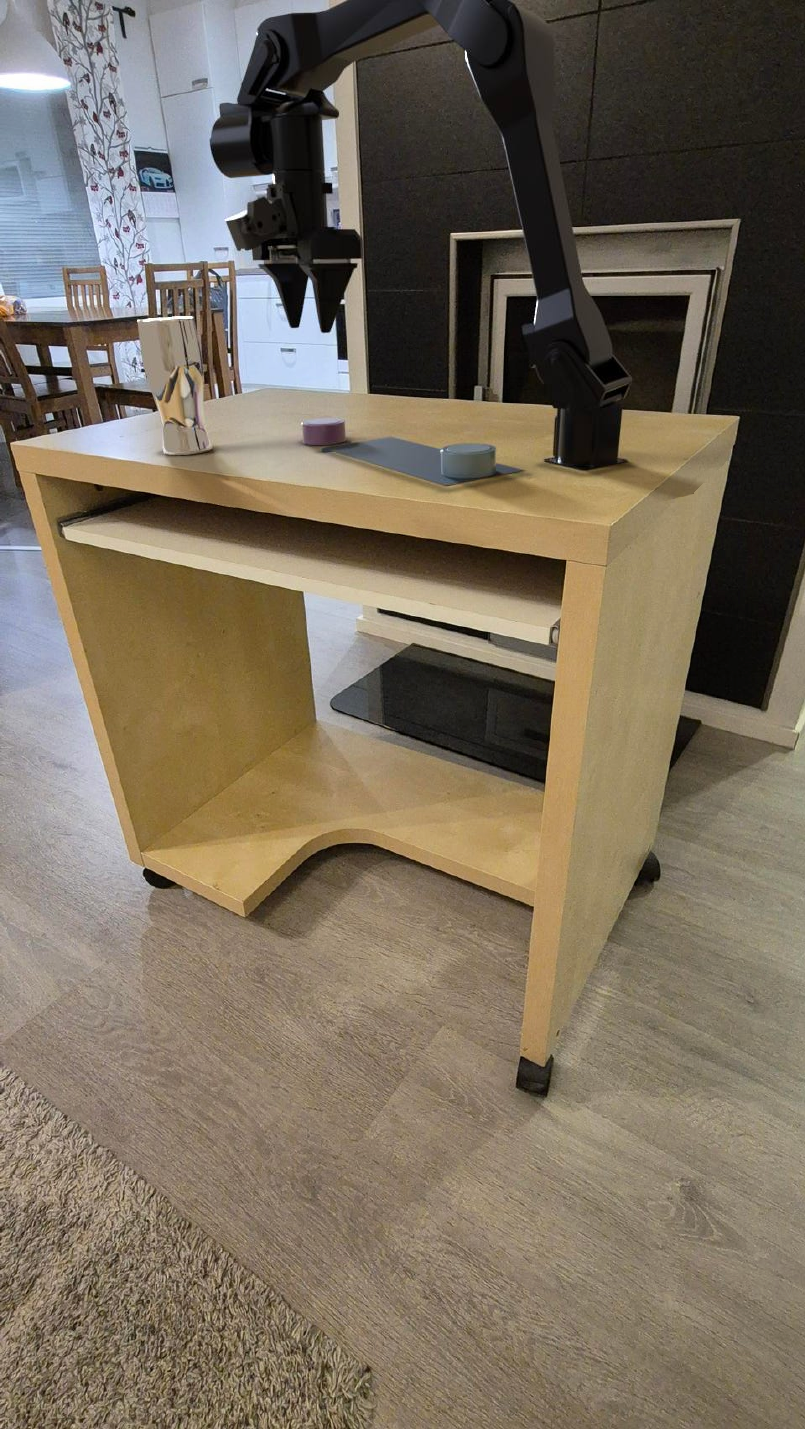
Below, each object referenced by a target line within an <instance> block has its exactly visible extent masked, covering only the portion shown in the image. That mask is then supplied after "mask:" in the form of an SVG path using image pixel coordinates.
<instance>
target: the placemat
mask: <svg viewBox="0 0 805 1429" xmlns="http://www.w3.org/2000/svg"><path fill="white" fill-rule="evenodd" d="M441 449H442V448H439V447H434V446H431V445H426V444H423V443H422V444H421V443H418V442H413V441H410V440H405V439H401V438H398V437H394V436H387V437H382V438H375V439H368V440H362V441H354V442H348V443H343V444H342V443H341V444H335V445H328V446H324V447H322V448H321V452H322V453H326V454H328V453H333V452H334V453H336V454H340V455H343V456H347V457H349V458H353V459H355V460H359V461H362V462H366V463H369V464H372V465H375V466H378V467H382V468H385V469H389V470H391V471H395V472H399V473H401V474H404V475H407V476H411V477H413V478H417V479H421V480H424V481H427V482H431V483H434V484H437V485H439V486H443V487H450V486H455V485H459V484H464V483H469V482H475V481H479V480H484V479H490V478H494V477H500V476H505V475H510V474H514V473H520V472H524V471H525V469H521V468H517V467H515V466H509V465H505V464H501V463H498V462H496V472H495V474H493V475H491V476H488V477H483V478H475V479H457V478H450V477H446V476H443V475H442V474H441Z"/></svg>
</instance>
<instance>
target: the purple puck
mask: <svg viewBox="0 0 805 1429" xmlns="http://www.w3.org/2000/svg"><path fill="white" fill-rule="evenodd" d="M301 435H302V443H303V444H305V445H307V446H333V445H339V444H342V443H344V442H346V441H347V430H346V421H345V419H342V418H336V417H327V418H325V417H323V418H322V417H321V418H314V419H308V420H304V421H302V422H301Z"/></svg>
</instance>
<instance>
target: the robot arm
mask: <svg viewBox="0 0 805 1429" xmlns="http://www.w3.org/2000/svg"><path fill="white" fill-rule="evenodd" d="M437 26H440V27H441V29H442V30H443V31H444V32H445V33H446V35H447V36H448V37H449V38H451V40H452V41H453V42H455V43H456V44H457V45H458V46H459V47H460V48H461V49H462V50H464V53H465V61H466V64H467V67H468V69H469V72H470V75H471V77H472V80H473V83H474V85H475V88H476V90H477V94H478V96H479V98H480V101H481V103H482V105H483V106H484V108H485V109H486V111H487V112H488V114H489V116H490V117H491V119H492V121H493V123H494V124H495V126H496V128H497V130H498V131H499V134H500V136H501V138H502V143H503V148H504V150H505V151H504V152H505V157H506V161H507V165H508V166H507V167H508V170H509V174H510V180H511V185H512V188H513V193H514V197H515V203H516V207H517V211H518V217H519V221H520V225H521V228H522V229H521V230H522V234H523V239H524V243H525V248H526V252H527V258H528V262H529V267H530V271H531V276H532V280H533V285H534V291H535V295H536V307H535V312H534V314H535V315H534V321H533V322H530V323H524V324H522V325H521V330H522V336H523V338H524V341H525V344H526V346H527V349H528V356H529V358H528V359H529V360H528V368H529V369H535V372H536V375H537V376H538V379H539V380H540V382H541V383H542V384H543V385H546V388H547V391H548V395H549V400H550V403H551V406H552V409H556V415H555V417H554V427H553V442H552V443H553V446H552V456H553V457H547V458H544V459H543V462H544V463H548V464H552V465H557V466H562V467H565V468H569V469H575V470H578V471H583V472H584V471H587V472H588V471H592V470H596V469H601V468H602V469H603V468H606V467H611V466H615V465H621V464H626V463H628V462H629V459H627V458H622V457H619V449H620V439H621V428H622V418H623V408H624V404H623V403H619V402H618V401H619V400H623V399H625V398H626V396H627V394H628V392H629V389H630V388H631V385H632V383H633V377H632V376H631V375H630V374H629V372H628V371H627V370H626V368H625V367H624V366H623V365H622V364H621V362H620V361H619V360H618V358H617V357H616V356H615V355H614V353H613V344H612V340H611V337H610V334H609V331H608V329H607V326H606V324H605V320H604V319H603V315H602V312H601V310H600V309H599V308H598V306H597V304H596V302H595V300H594V299H593V297H592V296H591V294H590V292H589V291H588V289H587V287H586V285H585V282H584V279H583V274H582V269H581V264H580V260H579V254H578V249H577V244H576V239H575V233H574V229H573V224H572V218H571V213H570V208H569V203H568V199H567V192H566V188H565V183H564V178H563V173H562V168H561V163H560V158H559V152H558V148H557V142H556V138H555V133H554V128H553V122H552V121H553V120H552V118H553V117H552V116H553V115H552V114H553V108H554V100H555V92H556V85H557V76H556V59H555V43H554V35H553V33H552V29H551V27H550V25H549V24H548V22H547V21H546V20H544V19H543V17H541V16H539V15H537V14H535V13H533V12H531V11H529V10H528V9H525V8H524V7H522V6H520V5H518V4H516V3H514V2H513V1H512V0H511V1H510V0H344V1H343V2H340V3H339V4H336V5H334V6H332V7H330V8H328V9H325V10H321V11H316V12H292V13H285V14H281V15H275V16H270V17H267V18H266V19H264V20H263V21H262V22H260V24H259V25H258V27H257V29H256V37H255V40H254V45H253V48H252V51H251V54H250V57H249V60H248V63H247V67H246V69H245V73H244V75H243V80H242V81H241V83H240V88H239V91H238V94H237V98H236V103H232V102H222V103H219V105H218V109H219V117H218V118H217V119H216V120H215V122H214V123H213V125H212V129H211V134H210V138H209V147H210V153H211V156H212V159H213V162H214V164H215V166H216V167H217V169H218V170H219V171H220V173H221V174H222V175H223V176H225V177H226V178H229V179H239V178H250V177H260V176H261V177H262V176H263V177H264V176H270V175H272V180H273V183H269V184H267V187H266V188H265V196H259V197H256V198H257V199H254V200H251V201H248V202H247V204H246V205H247V206H246V209H245V210H243V211H241V212H239V213H237V214H235V215H233V216H230V217H227V219H225V220H224V221H225V224H226V227H227V228H228V231H229V234H230V236H231V239H232V241H233V244H234V246H235V249H236V251H237V252H241V251H242V250H244V251H247V252H248V251H251V254H252V256H251V257H252V261H263V263H258V264H257V267H259V269H260V270H262V271H264V272H265V273H266V274H267V275H268V276H269V277H270V278H271V279H272V280H273V282H274V285H275V287H276V291H277V293H278V296H279V299H280V301H281V304H282V307H283V310H284V313H285V317H286V319H287V322H288V325H289V328H290V329H298V328H300V325H301V321H302V316H303V310H304V304H305V298H306V294H307V288H308V283H309V279H310V281H311V285H312V291H313V297H314V302H315V310H316V316H317V321H318V325H319V330H320V332H321V333H322V334H329V333H331V332H332V329H333V325H334V324H335V321H336V318H337V315H338V312H339V310H340V306H341V303H342V301H343V298H344V296H345V293H346V291H347V288H348V286H349V283H350V280H351V278H352V276H353V274H354V271H355V269H358V262H352V260H358V259H359V260H363V259H364V238H362V236H361V235H360V234H359V233H358V231H357V230H356V229H355V228H335V226H329V224H328V206H327V205H328V204H327V195H333V194H334V190H333V189H334V188H333V182H326V171H325V169H326V168H325V151H324V150H325V148H324V133H323V132H324V130H323V121H327V120H336V119H338V118H339V117H340V111H339V109H338V108H337V107H336V106H334V104H333V103H331V102H330V99H328V98H327V96H326V94H325V92H324V91H325V90H327V89H329V87H331V86H332V85H334V84H335V83H336V82H338V80H339V79H340V77H341V75H342V74H343V72H344V70H346V68H347V67H349V66H350V65H352V64H353V63H355V62H357V61H359V60H361V59H364V58H367V57H369V56H371V55H373V54H375V53H378V52H380V51H382V50H384V49H387V48H390V47H392V46H394V45H396V44H398V43H401V42H403V41H406V40H408V39H410V38H412V37H415V36H416V35H419V34H421V33H423V32H426V31H428V30H430V29H433V28H435V27H437ZM299 260H301V261H303V260H304V261H305V260H306V261H307V260H308V261H309V260H311V261H312V263H310V262H309V263H308V262H306V263H305V262H304V263H303V262H300V263H299Z"/></svg>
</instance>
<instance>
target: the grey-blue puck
mask: <svg viewBox="0 0 805 1429" xmlns="http://www.w3.org/2000/svg"><path fill="white" fill-rule="evenodd" d="M440 449H441V474H442V475H443V476H446V477H450V478H457V479H475V478H483V477H488V476H491V475H493V474H495V472H496V463H497V447H496V446H495V445H491V444H487V443H480V442H479V443H478V442H477V443H475V442H470V443H469V442H468V443H467V442H466V443H465V442H464V443H453V444H450V445H446V446H444V447H441V448H440Z"/></svg>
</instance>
